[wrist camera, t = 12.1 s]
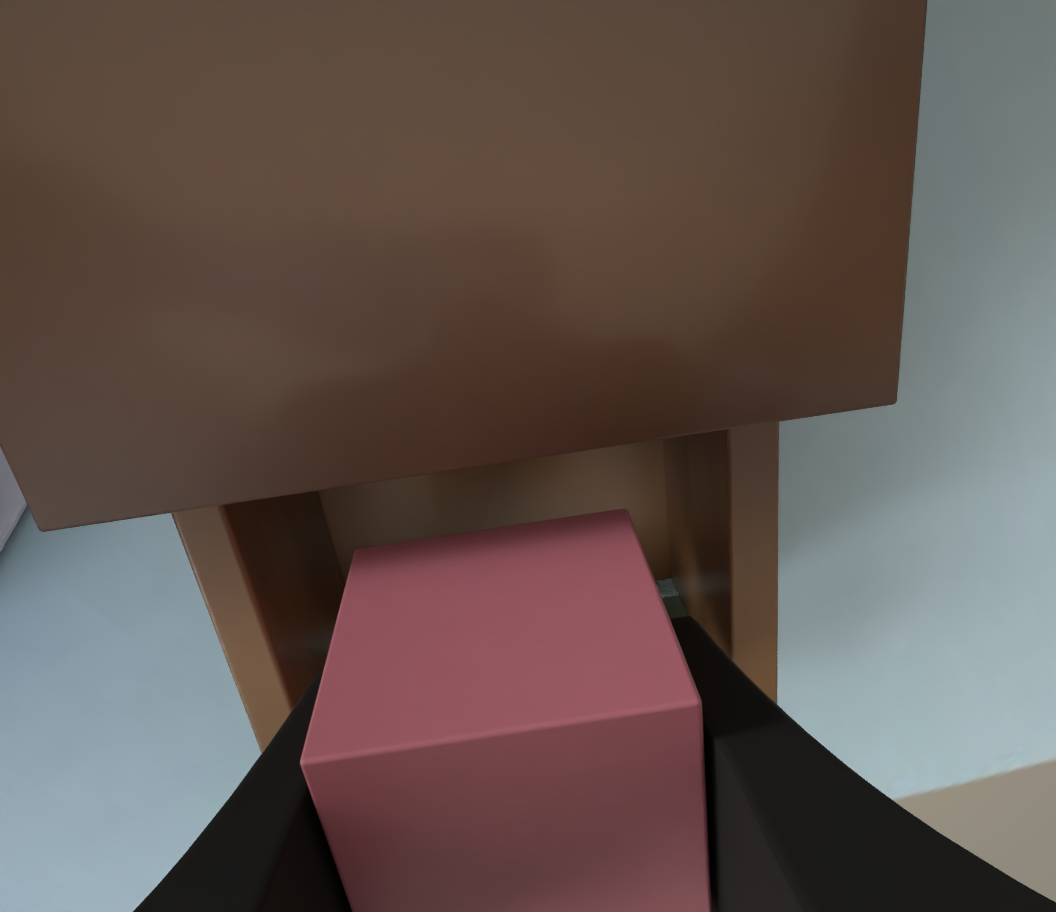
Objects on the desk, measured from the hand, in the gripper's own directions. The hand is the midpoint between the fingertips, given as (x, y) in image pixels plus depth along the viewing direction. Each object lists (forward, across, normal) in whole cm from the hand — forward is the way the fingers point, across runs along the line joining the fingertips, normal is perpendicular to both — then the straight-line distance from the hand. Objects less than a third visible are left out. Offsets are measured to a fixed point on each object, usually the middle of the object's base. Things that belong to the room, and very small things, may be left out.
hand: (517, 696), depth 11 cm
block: (+1, 0, 0) cm, 1 cm away
